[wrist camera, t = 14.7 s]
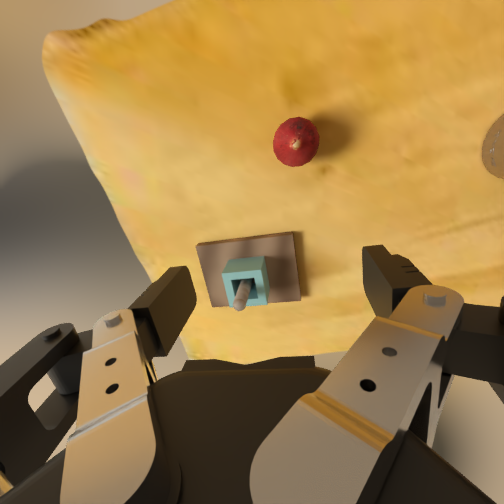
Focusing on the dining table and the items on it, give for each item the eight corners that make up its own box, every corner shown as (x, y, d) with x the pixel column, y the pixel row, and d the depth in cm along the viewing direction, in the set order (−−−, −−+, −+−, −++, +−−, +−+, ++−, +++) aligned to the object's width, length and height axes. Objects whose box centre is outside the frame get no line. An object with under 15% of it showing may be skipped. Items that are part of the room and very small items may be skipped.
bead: (264, 255, 43) (260, 269, 39) (269, 288, 45) (267, 304, 41) (228, 259, 44) (221, 273, 40) (235, 290, 47) (229, 307, 42)
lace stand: (292, 231, 43) (292, 261, 32) (300, 295, 47) (303, 340, 37) (198, 243, 46) (170, 274, 35) (214, 302, 50) (194, 345, 40)
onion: (282, 113, 36) (280, 107, 29) (323, 126, 36) (330, 123, 29) (269, 157, 39) (264, 161, 31) (307, 169, 39) (311, 176, 31)
